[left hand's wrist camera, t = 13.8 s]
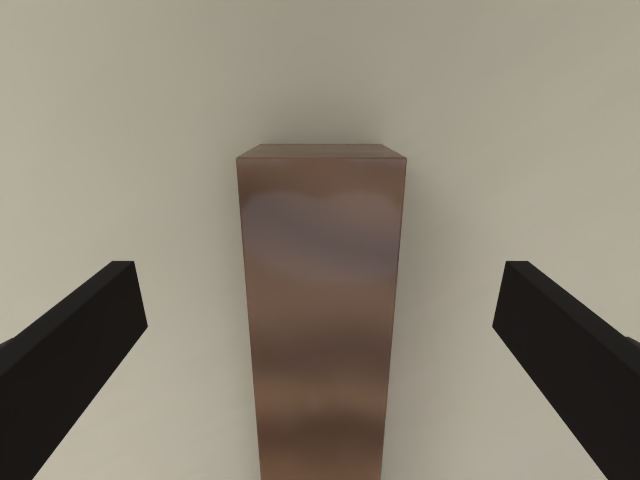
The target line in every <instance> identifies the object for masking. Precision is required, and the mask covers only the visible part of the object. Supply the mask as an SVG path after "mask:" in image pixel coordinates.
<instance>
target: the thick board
mask: <svg viewBox="0 0 640 480" xmlns="http://www.w3.org/2000/svg"><path fill="white" fill-rule="evenodd" d="M406 163H407V158H406V157H404V156H402V155H400V154H398V153H396V152H395V151H393V150H391V149H389V148H387V147H385V146H384V145H382V144H260V145H258V146H256V147H255V148H253V149H251V150H249V151H248V152H246V153H244V154H242V155H240V156H239V157H237V158H236V165H237V178H238V191H239V204H240V216H241V229H242V242H243V255H244V268H245V280H246V293H247V306H248V319H249V331H250V344H251V357H252V370H253V383H254V395H255V408H256V421H257V434H258V447H259V459H260V472H261V480H380V478H381V466H382V454H383V442H384V430H385V418H386V406H387V393H388V381H389V369H390V357H391V345H392V333H393V321H394V309H395V296H396V284H397V272H398V260H399V248H400V236H401V224H402V212H403V199H404V187H405V175H406Z"/></svg>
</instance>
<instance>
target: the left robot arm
mask: <svg viewBox="0 0 640 480" xmlns="http://www.w3.org/2000/svg"><path fill="white" fill-rule="evenodd" d="M147 327H148V325H147V320H146V316H145V311H144V306H143V301H142V297H141V292H140V287H139V283H138V278H137V273H136V268H135V264H134V261H112V262H110V263H109V264H108V265H107V266H105V267H104V268H103V269H101V270H100V271H99V272H98V273H96V274H95V275H94V276H92V277H91V278H90V279H89V280H87V281H86V282H85V283H83V284H82V285H81V286H80V287H78V288H77V289H76V290H74V291H73V292H72V293H71V294H69V295H68V296H67V297H65V298H64V299H63V300H62V301H60V302H59V303H58V304H56V305H55V306H54V307H53V308H51V309H50V310H49V311H48V312H46V313H45V314H44V315H42V316H41V317H40V318H39V319H37V320H36V321H35V322H33V323H32V324H31V325H30V326H28V327H27V328H26V329H24V330H23V331H22V332H21V333H19V334H18V335H17V336H15V337H14V338H11V339H9V340H7V341H6V342H4V343H2V344H0V480H32V479H33V478H34V477H35V475H36V474H37V473H38V471H39V470H40V469H41V467H42V466H43V465H44V463H45V462H46V461H47V459H48V458H49V457H50V455H51V454H52V453H53V451H54V450H55V449H56V447H57V446H58V445H59V444H60V442H61V441H62V440H63V438H64V437H65V436H66V434H67V433H68V432H69V430H70V429H71V428H72V426H73V425H74V424H75V422H76V421H77V420H78V418H79V417H80V416H81V414H82V413H83V412H84V410H85V409H86V408H87V407H88V405H89V404H90V403H91V401H92V400H93V399H94V397H95V396H96V395H97V393H98V392H99V391H100V389H101V388H102V387H103V385H104V384H105V383H106V381H107V380H108V379H109V377H110V376H111V375H112V373H113V372H114V371H115V369H116V368H117V367H118V366H119V364H120V363H121V362H122V360H123V359H124V358H125V356H126V355H127V354H128V352H129V351H130V350H131V348H132V347H133V346H134V344H135V343H136V342H137V340H138V339H139V338H140V336H141V335H142V334H143V332H144V331H145V330H146V329H147ZM492 327H493V329H494V330H495V331H496V332H497V334H498V335H499V336H500V338H501V339H502V340H503V342H504V343H505V344H506V346H507V347H508V348H509V350H510V351H511V352H512V354H513V355H514V356H515V358H516V359H517V360H518V362H519V363H520V364H521V366H522V367H523V368H524V370H525V371H526V372H527V373H528V375H529V376H530V377H531V379H532V380H533V381H534V383H535V384H536V385H537V387H538V388H539V389H540V391H541V392H542V393H543V395H544V396H545V397H546V399H547V400H548V401H549V403H550V404H551V405H552V407H553V408H554V409H555V410H556V412H557V413H558V414H559V416H560V417H561V418H562V420H563V421H564V422H565V424H566V425H567V426H568V428H569V429H570V430H571V432H572V433H573V434H574V436H575V437H576V438H577V440H578V441H579V442H580V444H581V445H582V446H583V447H584V449H585V450H586V451H587V453H588V454H589V455H590V457H591V458H592V459H593V461H594V462H595V463H596V465H597V466H598V467H599V469H600V470H601V471H602V473H603V474H604V475H605V477H606V478H607V479H608V480H640V343H639V342H637V341H635V340H634V339H632V338H630V337H625V336H623V335H622V334H621V333H619V332H618V331H617V330H616V329H614V328H613V327H612V326H610V325H609V324H608V323H607V322H605V321H604V320H603V319H601V318H600V317H599V316H598V315H596V314H595V313H594V312H592V311H591V310H590V309H589V308H587V307H586V306H585V305H584V304H582V303H581V302H580V301H578V300H577V299H576V298H575V297H573V296H572V295H571V294H569V293H568V292H567V291H566V290H564V289H563V288H562V287H560V286H559V285H558V284H557V283H555V282H554V281H553V280H551V279H550V278H549V277H548V276H546V275H545V274H544V273H542V272H541V271H540V270H539V269H537V268H536V267H535V266H533V265H532V264H531V263H530V262H528V261H506V264H505V268H504V273H503V278H502V283H501V287H500V292H499V297H498V301H497V306H496V311H495V316H494V320H493V325H492Z"/></svg>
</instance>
